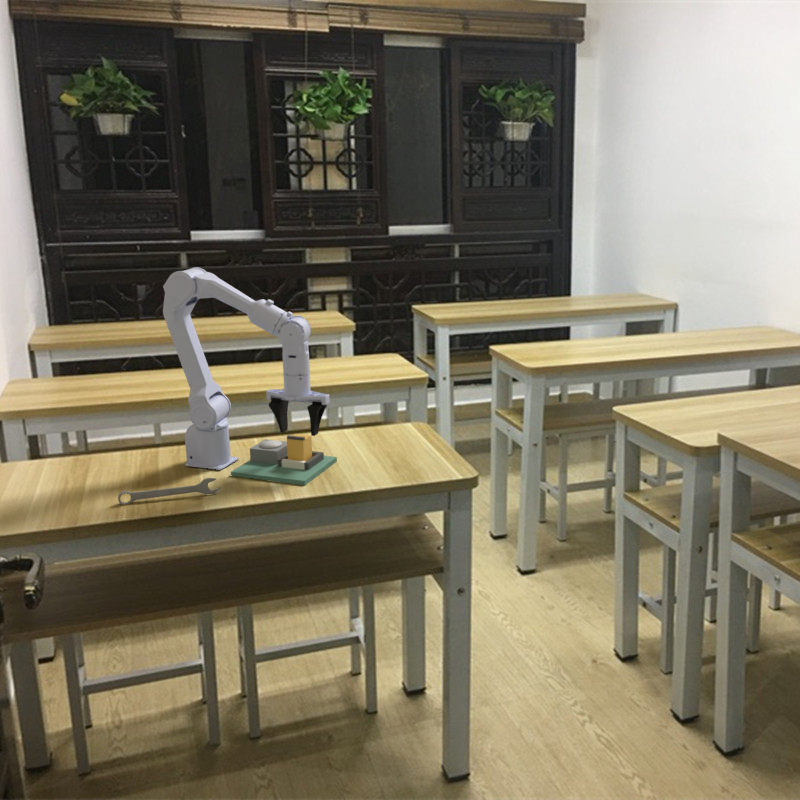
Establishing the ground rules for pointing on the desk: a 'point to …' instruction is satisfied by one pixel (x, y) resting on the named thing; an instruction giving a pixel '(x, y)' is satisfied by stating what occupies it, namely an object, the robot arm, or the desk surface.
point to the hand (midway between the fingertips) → (299, 432)
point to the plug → (299, 447)
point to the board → (282, 464)
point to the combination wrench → (171, 491)
